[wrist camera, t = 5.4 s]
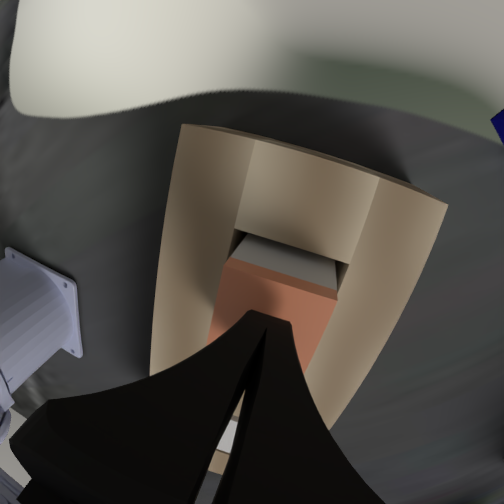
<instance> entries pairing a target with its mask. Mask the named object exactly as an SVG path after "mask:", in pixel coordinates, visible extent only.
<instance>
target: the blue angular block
mask: <svg viewBox="0 0 504 504" xmlns="http://www.w3.org/2000/svg"><path fill="white" fill-rule="evenodd" d="M490 121H491V123H492V124H493V126H494V128H495V130H496V132H497V134H498V136H499V138H500V140H501V142H502V143H503V145H504V109H503V110H501V111H500V112H499V113H497V114H496V115H495V116H494V117H492V118H491V119H490Z"/></svg>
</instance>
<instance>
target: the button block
mask: <svg viewBox="0 0 504 504" xmlns="http://www.w3.org/2000/svg"><path fill="white" fill-rule="evenodd" d="M447 207H448V204H446V203H444V202H443V201H441V200H439V199H437V198H436V197H434V196H432V195H430V194H429V193H427V192H425V191H423V190H421V189H420V188H418V187H416V186H414V185H412V184H410V183H407V182H405V181H402V180H399V179H397V178H394V177H392V176H389V175H386V174H384V173H381V172H378V171H375V170H372V169H370V168H367V167H364V166H361V165H358V164H355V163H352V162H349V161H346V160H343V159H340V158H337V157H334V156H331V155H328V154H324V153H321V152H318V151H314V150H311V149H308V148H304V147H301V146H297V145H294V144H290V143H286V142H283V141H279V140H275V139H271V138H267V137H263V136H259V135H255V134H251V133H247V132H243V131H239V130H234V129H230V128H225V127H217V126H206V125H194V124H182V126H181V131H180V135H179V140H178V145H177V150H176V155H175V160H174V166H173V171H172V177H171V182H170V188H169V194H168V200H167V206H166V213H165V219H164V226H163V233H162V241H161V248H160V256H159V265H158V273H157V283H156V292H155V303H154V314H153V327H152V341H151V359H150V376H151V375H154V374H156V373H158V372H161V371H163V370H165V369H167V368H169V367H171V366H173V365H175V364H177V363H179V362H181V361H183V360H185V359H187V358H188V357H190V356H192V355H193V354H195V353H196V352H198V351H200V350H201V349H203V348H204V347H206V344H207V339H208V334H209V330H210V325H211V320H212V316H213V311H214V306H215V302H216V297H217V293H218V288H219V284H220V279H221V275H222V270H223V266H224V264H225V263H226V261H227V260H228V259H229V257H230V256H231V255H232V254H233V252H234V251H235V250H236V248H237V247H238V246H239V244H240V243H241V242H242V241H243V239H244V238H245V237H246V235H247V234H248V233H252V234H255V235H258V236H261V237H265V238H268V239H271V240H274V241H278V242H281V243H284V244H287V245H290V246H294V247H297V248H300V249H303V250H306V251H310V252H313V253H316V254H319V255H322V256H325V257H329V258H332V259H335V268H336V282H337V298H338V301H337V304H336V306H335V308H334V311H333V313H332V315H331V318H330V320H329V322H328V324H327V327H326V329H325V331H324V333H323V335H322V338H321V340H320V342H319V344H318V346H317V348H316V351H315V353H314V355H313V357H312V359H311V361H310V363H309V365H308V367H307V369H306V371H305V373H304V377H305V380H306V383H307V385H308V388H309V390H310V393H311V396H312V398H313V400H314V403H315V405H316V407H317V409H318V411H319V413H320V415H321V417H322V419H323V421H324V423H325V425H326V427H327V428H328V430H330V428H331V427H332V426H333V424H334V423H335V421H336V420H337V419H338V417H339V416H340V414H341V413H342V412H343V410H344V409H345V407H346V406H347V404H348V403H349V401H350V400H351V398H352V397H353V395H354V394H355V392H356V391H357V389H358V388H359V386H360V385H361V383H362V381H363V380H364V378H365V377H366V375H367V373H368V372H369V370H370V369H371V367H372V365H373V364H374V362H375V360H376V359H377V357H378V355H379V353H380V352H381V350H382V348H383V347H384V345H385V343H386V341H387V339H388V338H389V336H390V334H391V332H392V330H393V329H394V327H395V325H396V323H397V321H398V319H399V317H400V315H401V313H402V311H403V309H404V307H405V305H406V303H407V301H408V299H409V297H410V295H411V293H412V291H413V289H414V287H415V285H416V283H417V281H418V278H419V276H420V274H421V272H422V270H423V267H424V265H425V263H426V260H427V258H428V256H429V253H430V251H431V249H432V246H433V244H434V241H435V239H436V236H437V234H438V231H439V229H440V226H441V223H442V221H443V218H444V215H445V213H446V210H447ZM244 393H245V391H244ZM244 393H243V395H242V397H241V399H240V401H239V403H238V406H237V408H236V410H235V412H234V414H233V415H234V416H237V417H239V414H240V410H241V406H242V401H243V397H244ZM229 455H230V453H228V452H225V451H222V450H219V449H216V451H215V453H214V455H213V458H212V460H211V463H210V466H209V468H208V470H209V471H212V472H215V473H219V474H222V475H223V472H224V469H225V467H226V464H227V461H228V458H229Z"/></svg>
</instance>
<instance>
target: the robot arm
mask: <svg viewBox="0 0 504 504" xmlns="http://www.w3.org/2000/svg"><path fill="white" fill-rule="evenodd" d="M60 348H63V349H64V350H66V351H68V352H69V353H71V354H73V355H74V356H76V357H78V358H81V357H82V356H83V350H82V342H81V333H80V323H79V312H78V298H77V285H76V283H75V282H74V281H73V280H72V279H70V278H68V277H66V276H64V275H62V274H60V273H58V272H56V271H54V270H52V269H50V268H48V267H46V266H44V265H42V264H40V263H38V262H36V261H35V260H33V259H31V258H29V257H27V256H25V255H23V254H22V253H20V252H18V251H16V250H14V249H13V248H11V247H7V248H5V258H3V259H2V260H0V444H1V443H2V442H3V441H4V439H5V437H6V436H7V433H8V431H9V427H10V421H11V414H10V411H9V408H10V407H11V406H12V405H13V404H14V400H13V399H12V397H11V396H10V395H11V394H12V393H13V392H14V391H15V390H16V389H17V388H18V387H19V386H20V385H21V384H22V383H23V382H24V381H25V380H26V379H27V378H28V377H30V376H31V375H32V374H33V373H34V372H35V371H36V370H37V369H38V368H39V367H40V366H41V365H42V364H43V363H44V362H46V361H47V360H48V359H49V358H50V357H51V356H52V355H53V354H54V353H55V352H56V351H57V350H59V349H60ZM244 391H245V393H244ZM243 393H244V397H243V401H242V406H241V410H240V414H239V419H238V423H237V427H236V432H235V436H234V440H233V444H232V448H231V452H230V455H229V458H228V461H227V464H226V467H225V469H224V472H223V475H222V478H221V480H220V483H219V486H218V488H217V491H216V494H215V496H214V499H213V502H212V504H385V503H384V502H383V500H382V499H381V498H380V497H379V496H378V495H377V494H376V493H375V492H374V491H373V490H372V489H371V488H370V487H369V486H368V485H367V484H366V483H365V482H364V480H363V479H362V478H361V477H360V475H359V474H358V473H357V472H356V470H355V469H354V468H353V467H352V465H351V464H350V463H349V461H348V460H347V458H346V457H345V455H344V454H343V452H342V451H341V449H340V448H339V446H338V445H337V443H336V442H335V440H334V439H333V437H332V436H331V434H330V432H329V430H328V428H327V427H326V425H325V423H324V421H323V419H322V417H321V415H320V413H319V411H318V409H317V407H316V405H315V403H314V400H313V398H312V396H311V393H310V390H309V388H308V385H307V383H306V380H305V377H304V374H303V371H302V368H301V364H300V361H299V358H298V354H297V350H296V346H295V342H294V336H293V330H292V325H291V323H290V321H287V320H283V319H280V318H277V317H274V316H271V315H268V314H264V313H261V312H258V311H255V310H252V309H251V310H248V311H247V312H246V313H245V314H244V315H243V316H242V317H241V318H240V319H239V320H238V321H237V322H236V323H235V324H234V325H233V326H232V327H231V328H230V329H228V330H227V331H226V332H225V333H223V334H222V335H221V336H219V337H218V338H217V339H216V340H214V341H213V342H212V343H210V344H209V345H207V346H206V347H204V348H203V349H201V350H200V351H198V352H196V353H195V354H193V355H192V356H190V357H188V358H187V359H185V360H183V361H181V362H179V363H177V364H175V365H173V366H171V367H169V368H167V369H165V370H163V371H161V372H158V373H156V374H154V375H151V376H149V377H146V378H144V379H141V380H139V381H136V382H133V383H130V384H126V385H123V386H119V387H116V388H112V389H109V390H105V391H101V392H97V393H92V394H87V395H81V396H74V397H67V398H60V399H50V400H48V401H47V402H46V403H45V404H43V405H42V406H41V407H40V408H38V409H37V410H36V411H35V412H34V413H33V414H32V415H31V416H30V417H29V418H28V419H27V420H26V421H25V422H24V423H23V425H22V426H21V427H20V428H19V429H18V430H17V431H16V432H15V434H14V435H13V436H12V437H11V438H10V439H9V443H10V448H11V450H12V452H13V454H14V455H15V457H16V458H17V459H18V461H19V462H20V464H21V465H22V466H23V467H24V469H25V470H26V471H27V472H28V474H29V475H30V476H31V478H32V479H31V480H30V481H29V483H28V484H27V485H26V487H25V488H23V487H22V486H21V485H20V484H19V483H18V482H16V481H15V480H14V479H13V478H12V477H10V476H9V475H8V474H7V473H6V472H4V470H2V469H1V468H0V504H194V503H195V501H196V498H197V496H198V493H199V491H200V488H201V486H202V483H203V481H204V478H205V476H206V473H207V471H208V468H209V466H210V463H211V460H212V458H213V455H214V453H215V451H216V448H217V446H218V444H219V442H220V440H221V438H222V436H223V434H224V432H225V430H226V428H227V426H228V424H229V422H230V420H231V418H232V416H233V414H234V412H235V410H236V408H237V406H238V403H239V401H240V399H241V397H242V395H243Z"/></svg>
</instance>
